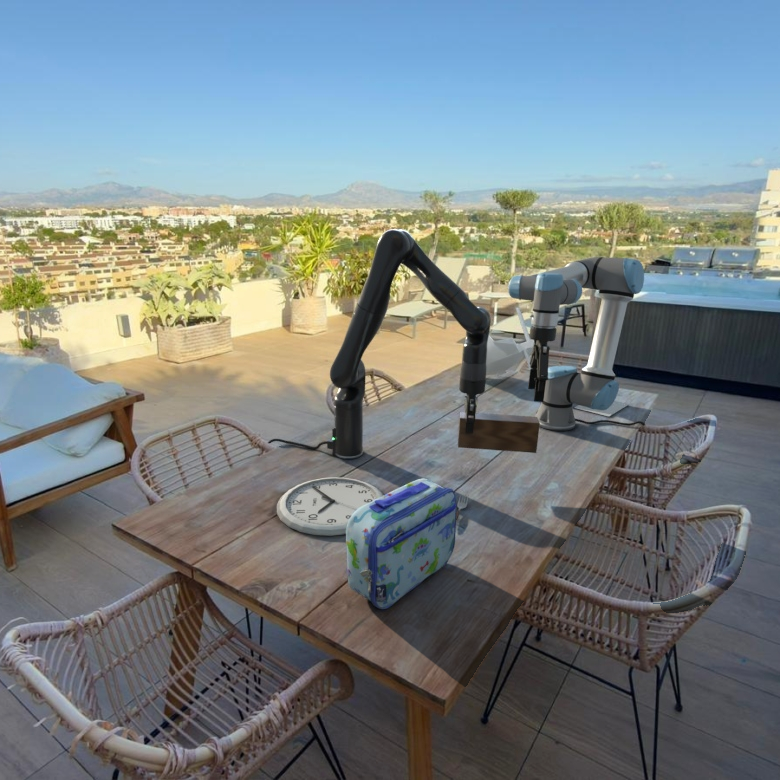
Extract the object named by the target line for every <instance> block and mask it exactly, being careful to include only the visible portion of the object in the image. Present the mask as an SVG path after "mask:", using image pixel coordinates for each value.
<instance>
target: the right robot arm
mask: <svg viewBox="0 0 780 780" xmlns="http://www.w3.org/2000/svg"><path fill="white" fill-rule="evenodd" d="M644 283H645V270H644V265H643V263H642V262H641V261H640V260H638V259H636V258H628V257H608V256H607V257H606V256H605V257H604V256H591V257H587V258H583V259H579V260H574V261H571V262H569V263H567V264H566V265H565V266H563V267H559V268H555V269H551V270H548V271H544V272H543V271H542V272H540V273H536V274H530V275H523V274H522V275H514V276H512V277H511V278H510V279H509V282H508V286H507V287H508V289H507V291H508V295H509V297H511V298H512V299H515V300H519V301H521V300H523V301H530V302H533V303H532V304H533V305H532V314H530V315H529V318H531V320H530V324H531V326H530V329H529V337H530V339H532V340H534V346H533V351H532V353H531V354H530V358H531V360H530V368H532V369H530V370H529V377H528V385H527V389H528V390H534V394H533V395H534V396H533V402H538V403H540V405H539V407H538V410H537V411H536V413H535V415H534V417H537V418H538V420H539V423H540V426H539V428H542V429H544V430H549V431H556V432H567V431H572V430H574V429H575V428H576V422H579V423H582V424H586V425H596V424H601V423H610V424H615V425H619V426H629V427H630V426H634V425H638V424H640V425H642V426H646V423H644V422H643V421H640V420H638V421H634V422H621V421H615V420H609V419H600V420H594V421H587V420H582V419H579V418H575V417H576V416H575V413H574V407H573V405H576V406H578V405H581V406H585V407H589V408H591V409H597V410H606V409H608V408H609V407H610V406H611V405H612V404H613V402H615V400H616V399H617V396H618V394H619V389H620V388H619V387H620V384H619V382H618V381H617V380H616V374H615V373H614V371H613V368H614V363H615V358H616V354H617V349H618V346H619V342H620V338H621V332H622V328H623V324H624V319H625V315H626V311H627V308H628V304H629V303H630V302H631V301H633V300H634V297H635V295H638V294H640V293H641V291H642V289H643V287H644ZM583 289H589V290H596V291H598V294H597V295H598V296H599V298H600V299H601V302H600V306H599V311H598V315H597V320H596V324H595V328H594V333H593V336H592V337H593V338H592V341H591V345H590V350H589V356H588V360H587V364H586V366H584V367H583V368H581V371H580V372H578V368H577V367H576V366H572V365H555V366H554V365H553V366H550V367H549V362H550V361H549V359H550V350H551V348H550V346H548V342H553V341H556V338H557V328H556V327H558V325H559V324H558V323H559V316H560V306H564V305H567V306H569V305H572V304H576V303H577V302H578V301H580V299H581V297H582V294H583Z"/></svg>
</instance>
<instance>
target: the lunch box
mask: <svg viewBox="0 0 780 780" xmlns="http://www.w3.org/2000/svg"><path fill="white" fill-rule="evenodd" d="M456 498H457V496H456V493H455V491H454V489H452V488H450V487H443V486H441V485H439V484H438V483H436V482H433V481H432V480H430V479H427V478H423V477H422V478H418V479H416V480H413V481H411V482H409V483H406V484H405V485H402V486H400V487H398V488H396V489H394V490H392V491H390V492H388V493H386V494H384V496H382V497H380V498H378V499H376V500H374V501H372V502H370V503H368V504H366V505H364V506H362V507H360V508H358V509H357V510H356V511H355V512H354V513H353V514H352V515H351V517H350V519H349V521H348V524H347V528H346V534H345V547H346V549H345V550H346V572H347V573H346V575H347V584H348V587H349V589H350V590H351V591H353V592H355V593H357V594H358V595H361V596H363V597H364V598H365V599H367V600H368V601H369V602H371V604H372V605H373V606H374V607H376V608H377V609H380V610H386V609H389V608H391V607H393V605H395V603H397V602H398V601H399V600H400V599H402V598H403V597H404V596H405V595H408V593H410V592H411V591H412V590H413V589H415V588H416V587H417V586H419V585H420V584H421V583H423V581H424V580H425V579H427V578H428V577H430V576H431V575H433V574H435V573H437V572H438V571H439V570H441V569H442V568H443V567H444V566H446V564H447V563H448V562H449V560H450V559H451V556H452V555H453V552H454V548H455V544H456V531H457V530H456V529H457V520H456V512H457V499H456Z"/></svg>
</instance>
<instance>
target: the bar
mask: <svg viewBox="0 0 780 780" xmlns="http://www.w3.org/2000/svg"><path fill="white" fill-rule="evenodd" d="M468 418H473V416H470V415H469V416H468ZM539 426H540V423H539V420H538V418H537V417H535V416H533V415H532V416H531V415H530V416H529V415H527V416H526V415H513V414H500V413H499V414H497V413H485V412H484V413H482V412H477V413H476V414H475V422H474V427H473V433H472V434H467V433H466V414H465V411H460V412H459V420H458V434H457V448H458V449H459V448H460V449H472V450H473V449H474V450H486V451H487V450H488V451H490V450H491V451H501V452H502V451H503V452H514V453H515V452H516V453H517V452H518V453H530V454H531V453H533V454H537V450H538V442H539V434H540V427H539Z"/></svg>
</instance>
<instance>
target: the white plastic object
mask: <svg viewBox="0 0 780 780" xmlns="http://www.w3.org/2000/svg"><path fill="white" fill-rule="evenodd" d="M515 311H516V314H517V316H518V320H519V323H520V326H521V329H522V332H523V335H524V338H525V341H524V342H521V343H516V340H515V339H514V337H507V338H504V339H499V340H498V339H497V340H494V339H493V338H492V337H491V335H490V334H489V336H488V341H487V358H486V377H487V376H495V375H496V376H497V377H498V376H501V375H504V374H507V370H509V369H511V368H512V367H513V366H515V365H516V364H517V363H519V362H521V361H522V360H523V359H524V358H525V360H526V363H527V366H528V370H529V371H530V369H532V368H530V360H531V355H532V351H533V346H534V340H532V339H530V337H529V336H530V332H528V328H527V324H526V321H525V319H524V315H523V313H522V311H521V309H520V307H519V306H518V307H515Z"/></svg>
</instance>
